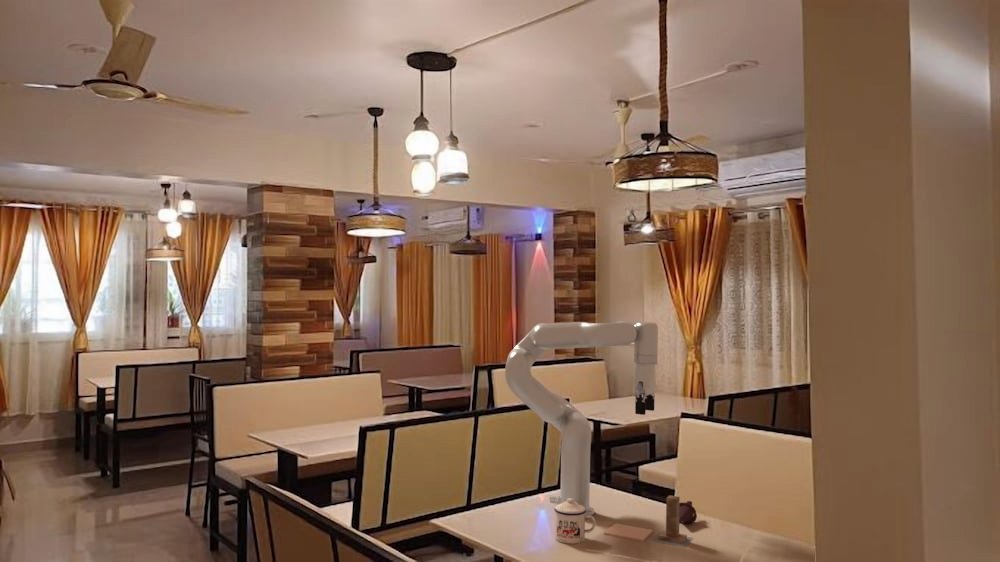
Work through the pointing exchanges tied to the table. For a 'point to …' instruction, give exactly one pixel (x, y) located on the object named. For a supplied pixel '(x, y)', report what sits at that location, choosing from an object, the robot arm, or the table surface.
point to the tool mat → (673, 542)
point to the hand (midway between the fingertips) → (644, 412)
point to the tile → (628, 532)
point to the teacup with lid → (571, 522)
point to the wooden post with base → (672, 522)
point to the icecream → (687, 513)
